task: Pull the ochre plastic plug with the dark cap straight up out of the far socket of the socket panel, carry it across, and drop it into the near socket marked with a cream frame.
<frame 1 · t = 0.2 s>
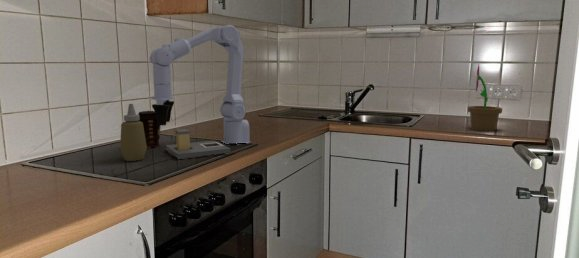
hand: (164, 123, 144), 10 cm above the worktop, tool pointing down, fingers open, 7 cm apart
socket panel: (197, 152, 145), on the worktop
coffee cup: (151, 147, 155), on the worktop
squeeze bottle: (134, 160, 135), on the worktop
plug: (183, 154, 143), resting in socket panel
flowerpot: (483, 129, 194), on the worktop
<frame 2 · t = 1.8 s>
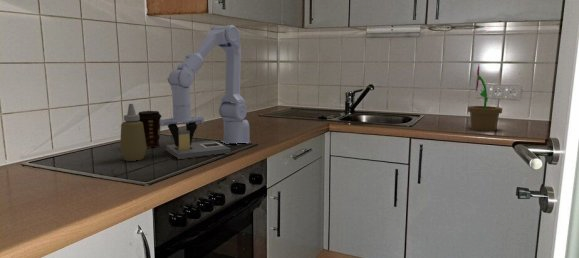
hand: (183, 145, 142), 3 cm above the worktop, tool pointing down, fingers closed on plug, 4 cm apart
plug: (183, 154, 143), resting in socket panel, touching gripper
everything else where it was.
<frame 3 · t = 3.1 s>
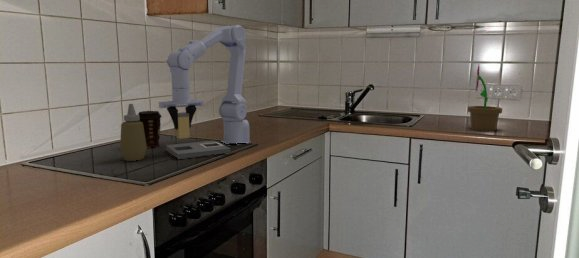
hand: (182, 128, 141), 9 cm above the worktop, tool pointing down, fingers closed on plug, 4 cm apart
plug: (182, 137, 142), point 6 cm above the worktop, touching gripper
everything else where it was.
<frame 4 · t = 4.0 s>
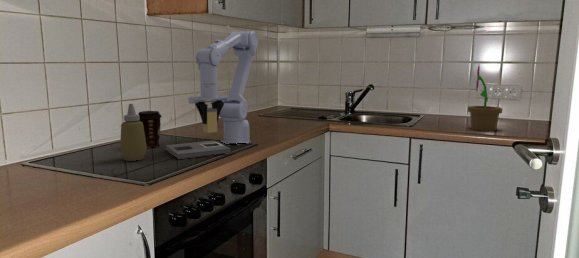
hand: (210, 123, 146), 10 cm above the worktop, tool pointing down, fingers closed on plug, 4 cm apart
plug: (210, 131, 146), point 7 cm above the worktop, touching gripper
everything else where it was.
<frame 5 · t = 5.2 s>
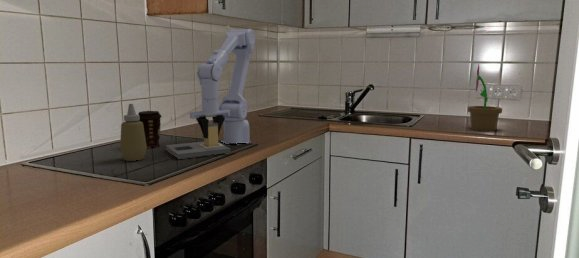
hand: (211, 137, 147), 5 cm above the worktop, tool pointing down, fingers closed on plug, 4 cm apart
plug: (211, 145, 147), point 2 cm above the worktop, touching gripper
everything else where it was.
when the fingers open (4 cm above the worktop, at t = 6.3 s): plug stays where it is, resting in socket panel.
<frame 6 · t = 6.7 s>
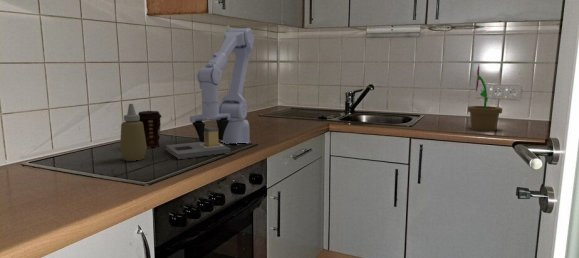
hand: (211, 140, 147), 4 cm above the worktop, tool pointing down, fingers open, 7 cm apart
plug: (211, 150, 148), resting in socket panel
everything else where it was.
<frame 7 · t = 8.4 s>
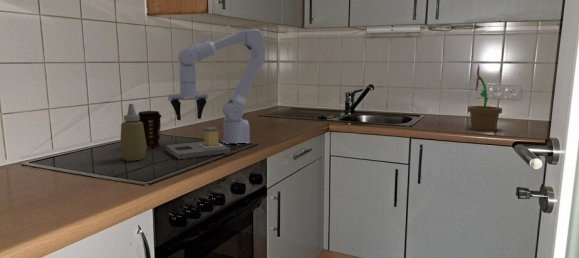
hand: (189, 119, 155), 10 cm above the worktop, tool pointing down, fingers open, 7 cm apart
nothing on the worktop moved.
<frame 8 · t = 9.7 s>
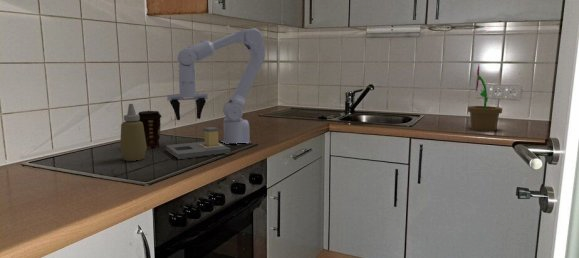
hand: (188, 119, 155), 10 cm above the worktop, tool pointing down, fingers open, 7 cm apart
nothing on the worktop moved.
at the end: plug 0.0 cm from the target spot on the socket panel, point 0.0 cm above the socket panel's base; plug tilted 0°; the gripper is holding nothing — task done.
